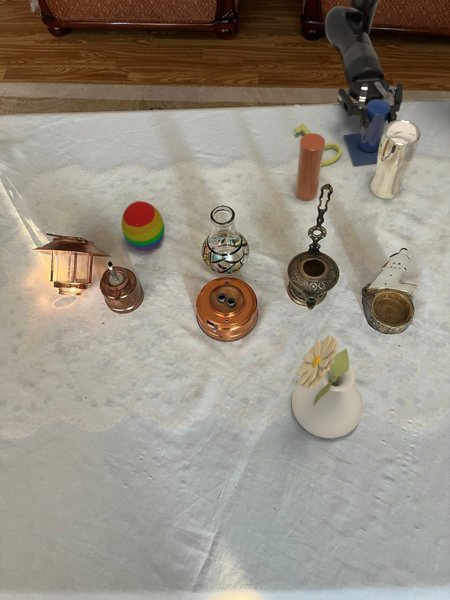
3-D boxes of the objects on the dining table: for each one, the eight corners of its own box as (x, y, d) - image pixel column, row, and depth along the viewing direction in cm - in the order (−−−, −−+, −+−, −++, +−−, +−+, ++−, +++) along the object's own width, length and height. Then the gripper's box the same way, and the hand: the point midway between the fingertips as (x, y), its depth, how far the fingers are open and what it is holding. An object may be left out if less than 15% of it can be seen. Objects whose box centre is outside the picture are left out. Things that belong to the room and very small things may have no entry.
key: (300, 128, 120) (301, 121, 118) (345, 152, 115) (347, 145, 113) (280, 146, 117) (281, 139, 115) (326, 172, 113) (327, 164, 111)
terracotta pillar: (314, 183, 111) (321, 131, 99) (319, 199, 109) (327, 148, 97) (293, 186, 111) (297, 134, 99) (297, 202, 109) (302, 152, 97)
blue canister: (376, 135, 115) (386, 97, 107) (382, 150, 113) (393, 113, 105) (356, 138, 115) (364, 100, 107) (361, 153, 113) (370, 116, 104)
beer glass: (362, 180, 111) (376, 124, 98) (392, 172, 112) (410, 115, 99) (377, 204, 107) (393, 149, 94) (408, 195, 108) (428, 139, 95)
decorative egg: (168, 222, 108) (161, 189, 99) (164, 255, 104) (156, 223, 95) (129, 222, 108) (118, 189, 100) (124, 255, 104) (112, 223, 95)
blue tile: (382, 132, 118) (383, 129, 117) (394, 161, 113) (395, 158, 112) (343, 137, 117) (343, 134, 117) (353, 166, 113) (354, 163, 112)
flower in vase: (323, 361, 90) (344, 285, 69) (375, 407, 86) (415, 341, 64) (269, 411, 86) (274, 347, 65) (321, 463, 82) (344, 412, 60)
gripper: (331, 57, 111) (347, 112, 103) (399, 51, 111) (420, 105, 103) (327, 87, 118) (341, 141, 109) (391, 81, 118) (410, 135, 109)
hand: (379, 123), depth 106 cm, fingers closed on blue canister, 4 cm apart
